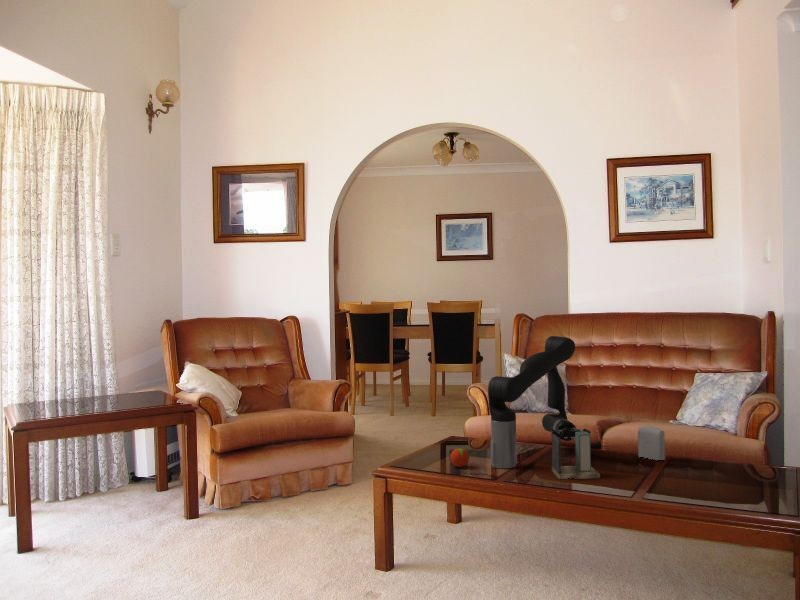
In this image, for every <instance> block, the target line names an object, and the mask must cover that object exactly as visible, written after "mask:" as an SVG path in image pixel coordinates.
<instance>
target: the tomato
mask: <svg viewBox="0 0 800 600" xmlns="http://www.w3.org/2000/svg"><path fill="white" fill-rule="evenodd" d="M469 456H470V455H469V453H468V451H467V450H466V449H464V448H461V447H458V448H455V449H454V450H452V452H451V453H450V462H451V463H452V465H454V466H455V467H456V468H463V467H465V466H467V464H468V463H469V461H470V457H469Z"/></svg>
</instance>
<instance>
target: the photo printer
mask: <svg viewBox="0 0 800 600" xmlns="http://www.w3.org/2000/svg"><path fill="white" fill-rule="evenodd" d="M637 449H638V450H637V453H638V455H637V456H638V458H640V457H644V458H643V459H646V458H648V459H647V460H652V459H653V460H654V461H658V460H664V461H665V460H666V445H665V431H664V430H663V429H661V428H658V427H655V426H649V425H648V426H647V425H646V426H641V427H638V430H637ZM653 460H652V461H653Z"/></svg>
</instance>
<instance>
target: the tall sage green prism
mask: <svg viewBox="0 0 800 600" xmlns="http://www.w3.org/2000/svg"><path fill="white" fill-rule="evenodd" d="M590 437H591V433H590V434H589V433H588V432H575V438H574V439H575V441H574V442H575V466H576V469H577V470H578V471H579V472H591V467H592V457H591V455H592V451H591V444H592V442H591V441H592V440H591V438H590Z"/></svg>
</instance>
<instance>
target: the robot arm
mask: <svg viewBox="0 0 800 600" xmlns="http://www.w3.org/2000/svg"><path fill="white" fill-rule="evenodd" d="M575 351H576V343H575V341H574V339H572V338H570V337H565V336H557V335H556V336H555V335H551V336H548V337H547V339H546V341H545V344H544V351H540V352H536V353H534V354H532V355H530V356H529V357H528V358H526V359H524V360H523V361H522V362H521V364H520V366H519V373H518V374H516V375H514V376H492V377H491V378H490V380H489V381H488V385H487V386H488V387H487V394H488V395H487V397H488V399H487V400H488V411H489V415H490V427H491V428H490V432H491V434H490V435H491V436H490V438H491V439H490V465H491V466H492V468H493V469H494V468H496V469H513V468H516V467H517V464H518V463H517V462H518V461H517V414H516V412H515V411H514V410H513V409H511V408H509V407H508V406H507V404H506V403H513V402H515V401H517V400H518V399H519V398H520V397H521V396H522V395H523V394H524V393H525V392H526V391H527V390H528V389H529V388H530V387H532V386H533V385H534V384H535V383H536V382H537V381H539V380H541V379H542V378H543V377H544V376H545V375H547V408H550V409H552V410H553V409H554V410H556V411H558V413H546V414H544V415H543V416H542V419H541V426H542V427H543V429H544V430H545V431H546V432H549V433H550V437H551V438H552V434H555V435H556V436H557V437H558V438H560V441H564V442H570V441H573V439H575V432H588V433H589V434H590V435H591V430H589V429H586V428H583V429H580V428H577V427H576V425H575V424H574V423H573V422H571V421H570V420H569V419H568V416H567V412H566V404H565V403H566V387H565V384H564V381H563V379H562V377H561V375H560V372H559V369H558V366H559V365H561V364H563V363H564V362H567V361H568V360H570V359H571V358H572V357H573V355H574V353H575ZM591 438H592V437H591V436H590V439H591Z"/></svg>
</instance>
